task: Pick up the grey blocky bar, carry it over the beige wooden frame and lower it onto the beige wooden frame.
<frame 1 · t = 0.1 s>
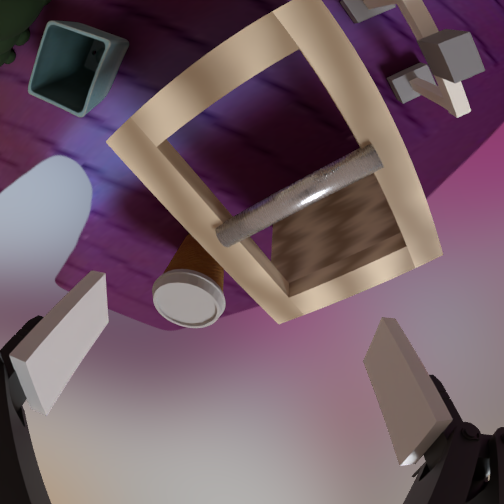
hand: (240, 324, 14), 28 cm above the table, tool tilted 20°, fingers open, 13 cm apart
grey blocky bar: (388, 42, 27), on the table
beige wooden frame: (290, 131, 35), on the table
disposable coffee cup: (204, 245, 48), on the table
toy figurine: (21, 27, 25), on the table
flower pot: (105, 56, 30), on the table
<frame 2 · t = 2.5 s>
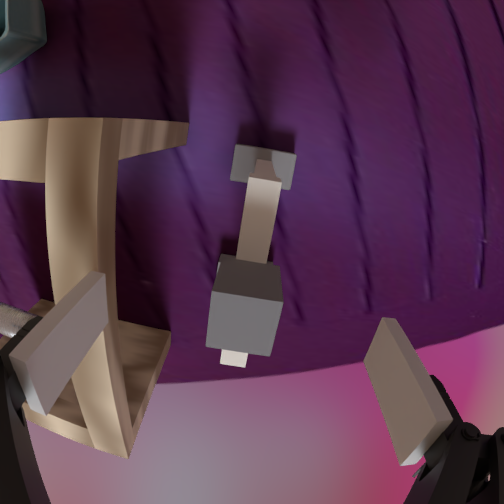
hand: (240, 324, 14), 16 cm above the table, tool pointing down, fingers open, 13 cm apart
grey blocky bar: (253, 220, 29), on the table
beige wooden frame: (94, 235, 30), on the table
flower pot: (31, 37, 22), on the table
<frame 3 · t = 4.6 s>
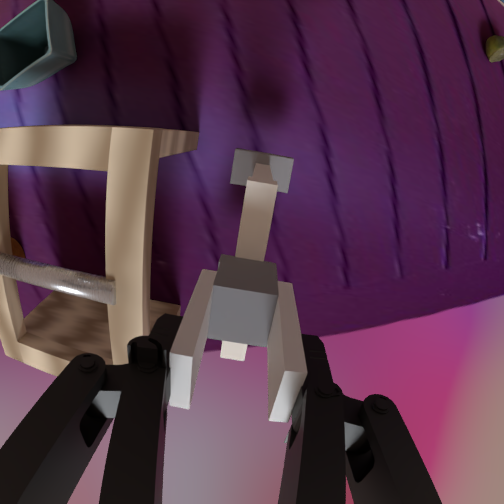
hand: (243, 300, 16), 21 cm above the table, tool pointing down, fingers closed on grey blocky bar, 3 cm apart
lime: (489, 52, 27), on the table
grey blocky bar: (252, 222, 30), point 6 cm above the table, touching gripper
beige wooden frame: (118, 222, 37), on the table
disposable coffee cup: (13, 255, 39), on the table
flower pot: (61, 53, 29), on the table
when the fingers open (20 cm above the table, at t = 9.7 s): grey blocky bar stays where it is, resting on beige wooden frame.
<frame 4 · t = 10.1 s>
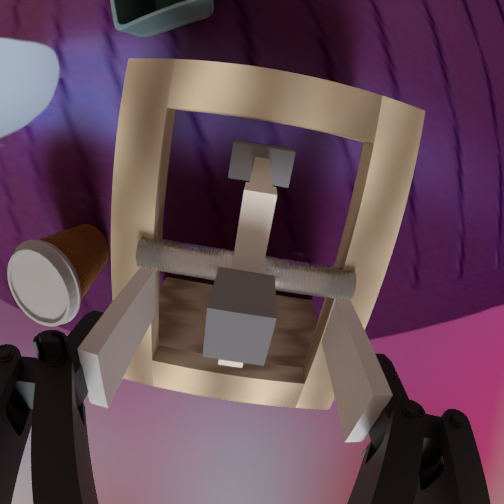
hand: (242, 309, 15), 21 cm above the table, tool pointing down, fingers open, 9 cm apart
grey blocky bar: (252, 216, 29), point 6 cm above the table, touching beige wooden frame
beige wooden frame: (252, 208, 35), on the table
disposable coffee cup: (89, 246, 37), on the table
flower pot: (178, 9, 26), on the table
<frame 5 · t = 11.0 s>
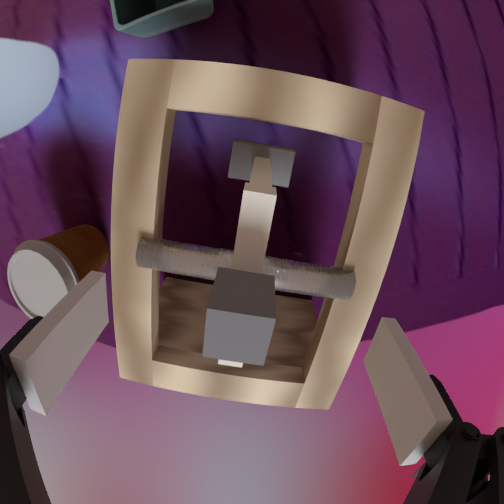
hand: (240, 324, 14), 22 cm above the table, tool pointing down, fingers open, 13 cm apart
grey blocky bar: (251, 216, 29), point 6 cm above the table, touching beige wooden frame
beige wooden frame: (252, 208, 35), on the table
disposable coffee cup: (89, 247, 37), on the table
flower pot: (178, 9, 26), on the table
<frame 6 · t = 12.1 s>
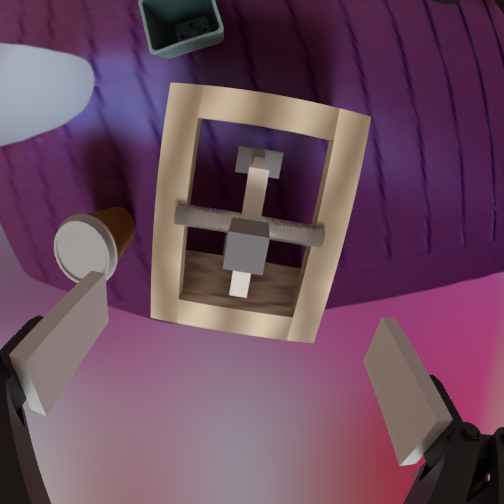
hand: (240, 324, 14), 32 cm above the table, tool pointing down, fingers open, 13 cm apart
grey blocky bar: (252, 202, 39), point 6 cm above the table, touching beige wooden frame
beige wooden frame: (253, 193, 44), on the table
disposable coffee cup: (118, 225, 46), on the table
flower pot: (194, 34, 36), on the table
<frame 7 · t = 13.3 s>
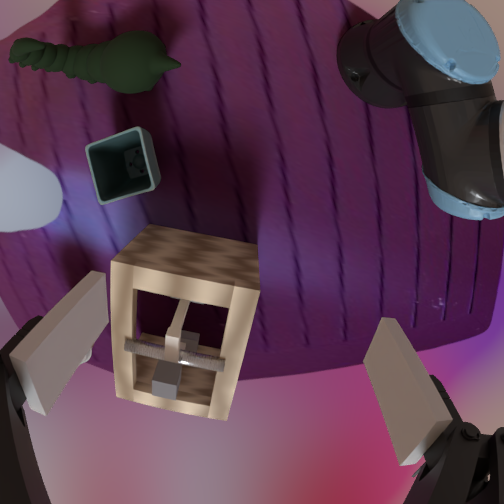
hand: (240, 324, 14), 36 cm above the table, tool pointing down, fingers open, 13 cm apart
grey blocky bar: (187, 313, 49), point 6 cm above the table, touching beige wooden frame
beige wooden frame: (192, 298, 55), on the table
toy figurine: (119, 66, 41), on the table
flower pot: (140, 160, 47), on the table
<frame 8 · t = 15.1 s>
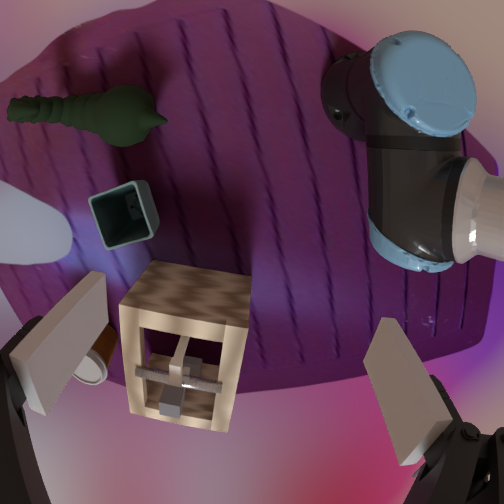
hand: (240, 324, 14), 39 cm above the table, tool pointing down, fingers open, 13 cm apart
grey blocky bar: (190, 341, 55), point 6 cm above the table, touching beige wooden frame
beige wooden frame: (195, 323, 60), on the table
disposable coffee cup: (106, 334, 62), on the table
toy figurine: (113, 113, 46), on the table
flower pot: (140, 203, 52), on the table
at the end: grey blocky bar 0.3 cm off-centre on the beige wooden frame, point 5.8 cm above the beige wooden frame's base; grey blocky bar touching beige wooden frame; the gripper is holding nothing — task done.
